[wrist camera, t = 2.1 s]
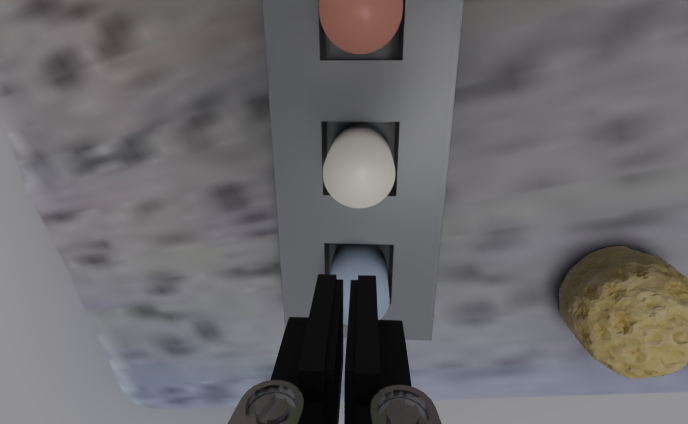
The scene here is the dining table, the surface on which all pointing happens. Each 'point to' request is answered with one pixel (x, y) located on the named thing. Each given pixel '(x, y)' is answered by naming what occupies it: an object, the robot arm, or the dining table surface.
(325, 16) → the brown egg
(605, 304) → the rock
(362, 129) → the white rounded oval piece
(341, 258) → the light blue rounded cylinder
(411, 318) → the grey rectangular block
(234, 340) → the dining table surface
